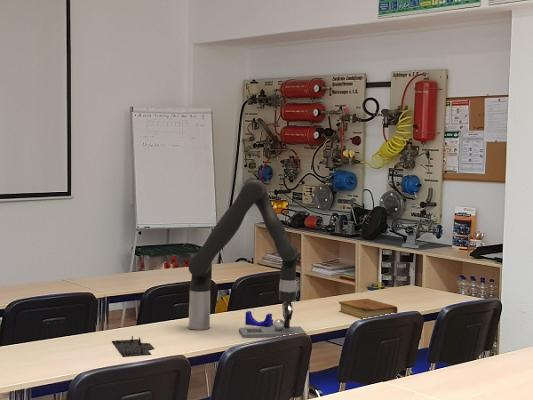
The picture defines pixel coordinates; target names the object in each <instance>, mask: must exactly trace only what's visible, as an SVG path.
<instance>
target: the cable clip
mask: <svg viewBox="0 0 533 400" xmlns="http://www.w3.org/2000/svg"><path fill="white" fill-rule="evenodd" d="M244 318H245V322H244V323H245V325H246V326H253V327H274V326H273V323H274V319H273V313H267V314H266V316H265V319H264V320H262V321H258V320H256V319H255V318H254V317H253V314H252V311H251V310H247V311H246V312H245V317H244Z"/></svg>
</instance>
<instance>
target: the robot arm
mask: <svg viewBox="0 0 533 400" xmlns="http://www.w3.org/2000/svg"><path fill="white" fill-rule="evenodd" d="M253 205H256V207H257V209H258V211H259V213H260V215H261V217H262V221H263V223H264V225H265V228H266V230H267V232H268V233H269V236H270V238H271V240H272V241H273V243H274V246H275V248H276V252H277V254H278V255H279V257H280V258H281V260H282V261H281V262H282V263H281V264H282V265H281V267H280V271H279V272H280V273H279V286H278V288H279V289H278V290H279V291H278V295H279V296H278V300H279V301H281V302H283V303H282V304H281V309H282V316H283V321H284V323H285V326H284V328H285V329H289V328H290V327H291V326H290V324H291V323H290V321H291V320H292V317H293V313H294V309H293V304H292V302H295V301H296V300H297V266H298V265H297V264H298V257H299V251H298V248H297V246H296V245H295V244H293V243H291V242H290V240H289V238H288V237H289V236H288V232H287V231H286V228H285V226H284V225H283V223H282V221H281V220H280V218H279V216H278V214H277V213H276V211H275V209H274V207H273V205H272V202H271V200H270V197H269V194H268V192H267V189H266V185H265V184H264V182H263V181H262V180H260V179H250V180H248V181H246V182H245V183H244V184H243V186H242V188H241V189H240V191H239V194H238V195H237V197H236V198H235V199H234V201H233V202H232V204H231V205H230V206H229V207H228V208H227V210H226V211H225V212H224V214H223V215H222V216H221V217H220V219H219V220H218V221H217V222H216V224H215V226H214V227H213V229H212V230H211V232H210V234H209V235H208V237H207V239H206V241H205V242H204V243H203V245H202V246H201V248H199V250H198V251H197V252H196V253H195V254H194V255H193V257H191V259H190V260H189V261H188V271H189V273H190V274H191V279H190V283H189V305H188V328H189V330H195V331H196V330H198V331H199V330H202V331H203V330H208V329H210V327H211V326H210V325H211V323H210V322H211V285H212V278H213V277H212V271H213V264H212V262H213V261H214V259H215V258H216V256H217V255H218V254H219V252H221V251H222V250H223V248H225V247H226V246H227V245H228V243H230V241H231V240H232V239H233V238H234V236H235V235H236V233H237V232H238V230H239V229H240V228H241V225H242V223H243V221H244V218H245V216H246V215H247V213H248V211H249V210H250V209H251V208H252V206H253Z"/></svg>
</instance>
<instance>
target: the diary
mask: <svg viewBox="0 0 533 400" xmlns="http://www.w3.org/2000/svg"><path fill="white" fill-rule="evenodd" d="M338 304H339V305H340V310H338V312H339V313H342V314H345V315H348V316H351V317H355V318H357V319H360V320H363V318H368V317H374V316H380V315H385V314H391V313H397V314H398V313H399V312H398V310H399V309H398V307H397V306H396V305H392V304H388V303H385V302H381V301H377V300H374V299H372V298H371V299H370V298H361V299H352V300H343V301H340V300H339V301H338Z"/></svg>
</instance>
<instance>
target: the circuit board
mask: <svg viewBox="0 0 533 400" xmlns="http://www.w3.org/2000/svg"><path fill="white" fill-rule="evenodd" d="M111 343H112V344H113V346H114V345H115V346H114V347H115V349H116V350H117V351H118V352H119V354H120V355H121V356H122V358H129V357H143V356H152V353H151V352H150V351H151V350H152V351H153V350H155V348H154V347H155V346H153V345H152V344H151V343H149V342H148V343H147V342H142V339H141V337H140V336H138V339H137V338H136V339H134V336H133V335H131V339H117V340H112V341H111Z"/></svg>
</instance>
